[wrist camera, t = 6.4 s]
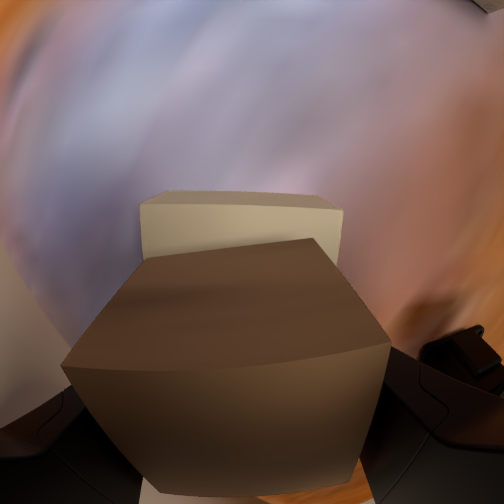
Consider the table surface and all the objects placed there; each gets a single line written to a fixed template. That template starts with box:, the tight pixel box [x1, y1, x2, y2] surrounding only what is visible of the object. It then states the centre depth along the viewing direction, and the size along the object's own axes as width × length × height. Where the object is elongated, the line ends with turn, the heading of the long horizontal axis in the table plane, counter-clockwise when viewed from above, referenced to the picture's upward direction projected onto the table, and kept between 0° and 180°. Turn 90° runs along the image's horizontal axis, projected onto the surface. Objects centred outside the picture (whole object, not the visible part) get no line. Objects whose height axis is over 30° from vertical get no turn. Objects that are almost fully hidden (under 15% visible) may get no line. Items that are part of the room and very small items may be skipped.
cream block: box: [140, 191, 344, 266], centre depth 12 cm, size 7×7×4 cm
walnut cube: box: [60, 238, 392, 497], centre depth 7 cm, size 5×5×5 cm
